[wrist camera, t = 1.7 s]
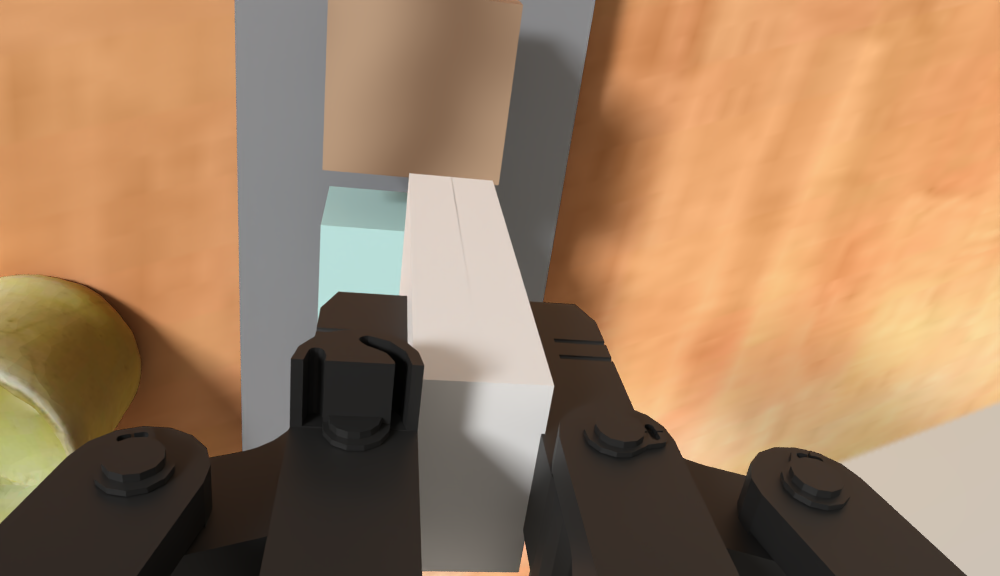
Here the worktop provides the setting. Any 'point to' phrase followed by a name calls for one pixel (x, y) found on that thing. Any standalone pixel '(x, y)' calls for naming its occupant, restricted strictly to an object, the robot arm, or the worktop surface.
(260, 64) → the console
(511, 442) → the robot arm
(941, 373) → the worktop surface
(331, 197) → the teal key
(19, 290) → the mug
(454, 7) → the walnut key
